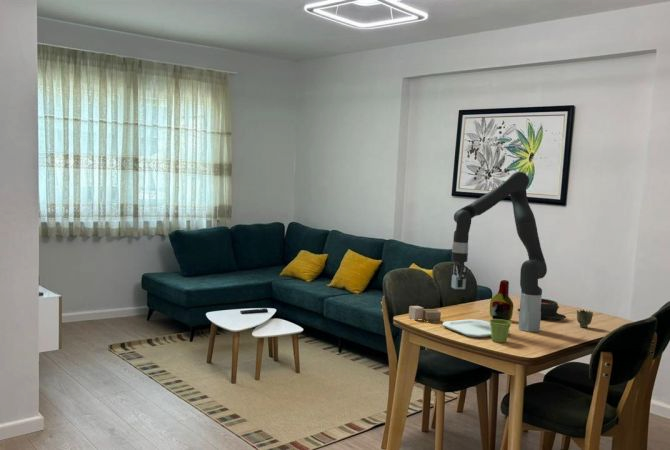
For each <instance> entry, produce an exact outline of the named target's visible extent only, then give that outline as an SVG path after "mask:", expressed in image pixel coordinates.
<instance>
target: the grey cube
mask: <svg viewBox="0 0 670 450" xmlns="http://www.w3.org/2000/svg"><path fill="white" fill-rule="evenodd" d="M466 279H467V277H466V278H465V279H464V280H463V286H462V288H459V287H458V275H451V286H450V287H451V288H452V289H454V290H466V285H467V284H466V281H467V280H466Z"/></svg>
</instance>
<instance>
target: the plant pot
mask: <svg viewBox="0 0 670 450" xmlns="http://www.w3.org/2000/svg"><path fill="white" fill-rule="evenodd" d="M488 322H489V323H490V325H491V335H492V336H491V340H492V342H494V343H498V344H499V343H500V344H501V343H504V344H505V343H506V342H507V340H508V335H509V333H508V331H509V332H510V327H511V325H512V323H513V322H512V321H511V320H508V321H507V320H502V319H495V318H491V319H489V320H488Z"/></svg>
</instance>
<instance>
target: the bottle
mask: <svg viewBox="0 0 670 450" xmlns="http://www.w3.org/2000/svg"><path fill="white" fill-rule="evenodd" d="M509 285H510V281H508V280H507V279H502V280H500V282H499V287H498V288H499V289H498V291H497V293H496V294H495V295H493V296H492V297H491V298H490V302H489V315H490V316H491V319H502V320H507V321H511V320H512V317H513V313H514V312H513V311H514V303H513V300H512V299H511V297H510V295H509V288H510V286H509Z"/></svg>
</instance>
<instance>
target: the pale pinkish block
mask: <svg viewBox="0 0 670 450" xmlns="http://www.w3.org/2000/svg"><path fill="white" fill-rule="evenodd" d="M424 309H425V308H424V307H423V306H419V305H409V307H408V319H409V318H411V319H410V320H412V319H414V320H417V321H419V320H418V319H423V313H424ZM414 320H413V321H414Z"/></svg>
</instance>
